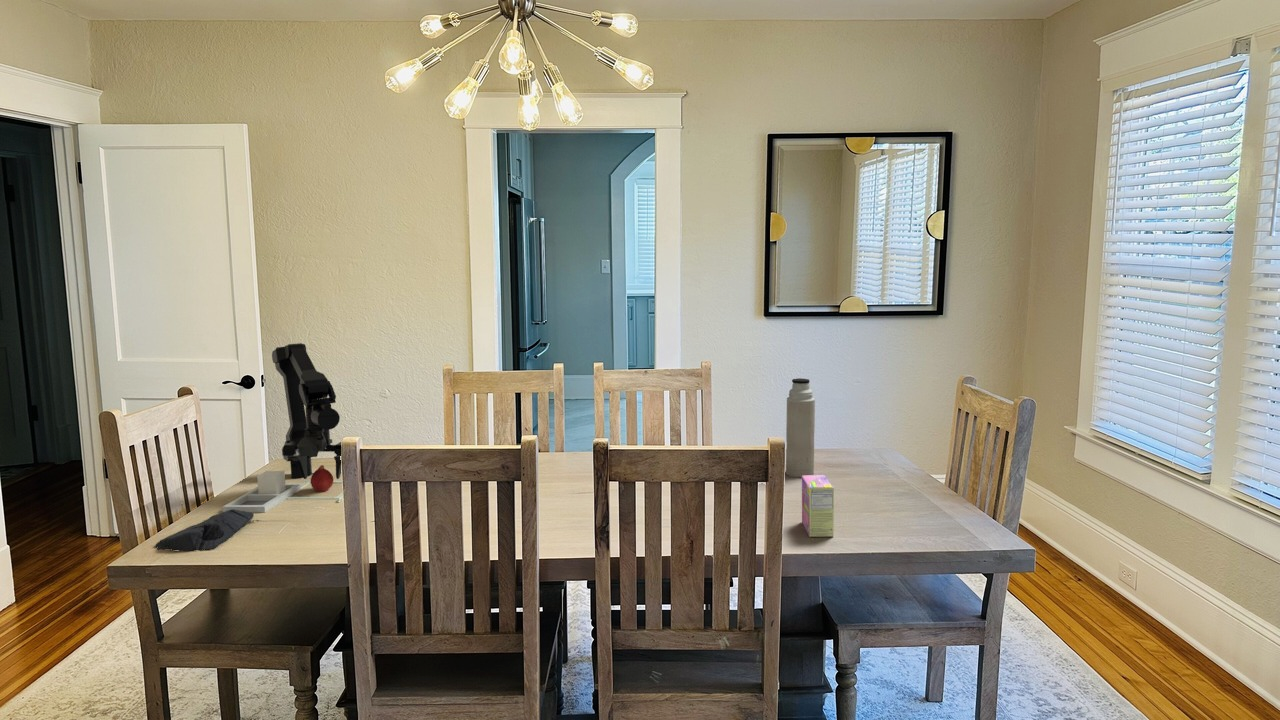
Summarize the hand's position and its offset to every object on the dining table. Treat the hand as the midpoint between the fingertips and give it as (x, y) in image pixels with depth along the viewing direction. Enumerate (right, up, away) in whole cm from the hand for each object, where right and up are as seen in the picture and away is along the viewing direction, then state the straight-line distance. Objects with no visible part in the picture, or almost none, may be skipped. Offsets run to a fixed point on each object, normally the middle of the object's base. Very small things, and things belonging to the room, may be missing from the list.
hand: (321, 478), depth 223 cm
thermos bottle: (+135, -1, +13) cm, 135 cm away
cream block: (-12, -4, -3) cm, 13 cm away
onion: (0, -4, +1) cm, 4 cm away
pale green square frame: (0, -4, +1) cm, 4 cm away
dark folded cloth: (-15, -10, -30) cm, 35 cm away
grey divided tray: (-12, -6, -8) cm, 16 cm away
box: (+130, -7, -33) cm, 134 cm away
